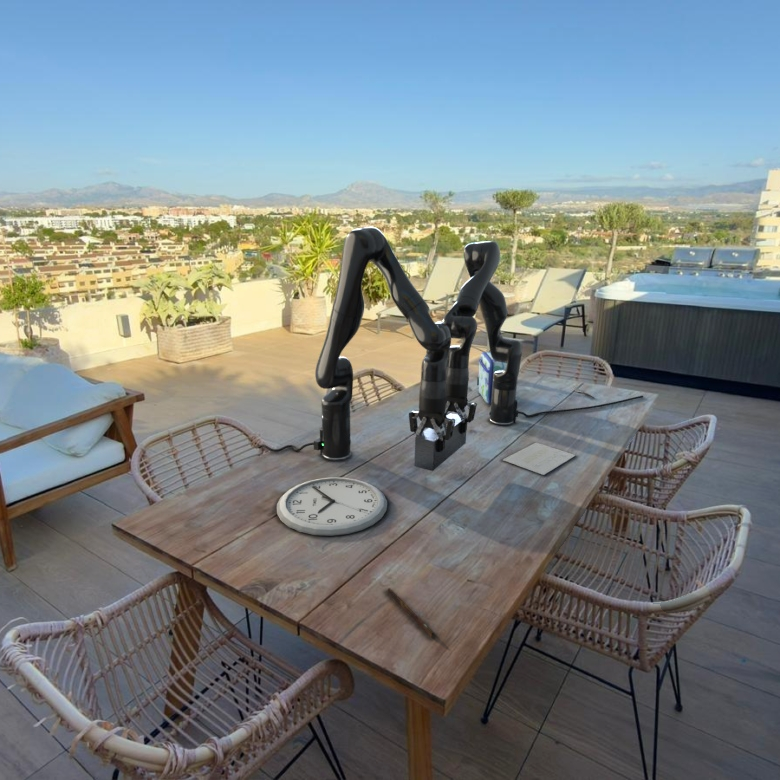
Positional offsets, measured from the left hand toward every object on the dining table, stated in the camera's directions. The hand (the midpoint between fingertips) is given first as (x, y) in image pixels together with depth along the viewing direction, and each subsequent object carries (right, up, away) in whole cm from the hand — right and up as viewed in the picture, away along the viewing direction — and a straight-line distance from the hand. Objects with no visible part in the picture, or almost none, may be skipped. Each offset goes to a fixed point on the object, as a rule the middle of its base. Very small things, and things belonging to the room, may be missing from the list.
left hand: (430, 448), depth 152 cm
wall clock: (-27, -14, -9) cm, 32 cm away
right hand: (+8, +4, +13) cm, 16 cm away
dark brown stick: (-8, -27, -49) cm, 56 cm away
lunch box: (+34, +13, +82) cm, 89 cm away
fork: (+79, +15, +91) cm, 121 cm away
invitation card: (+38, -6, +22) cm, 45 cm away
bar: (+4, -3, +8) cm, 9 cm away
